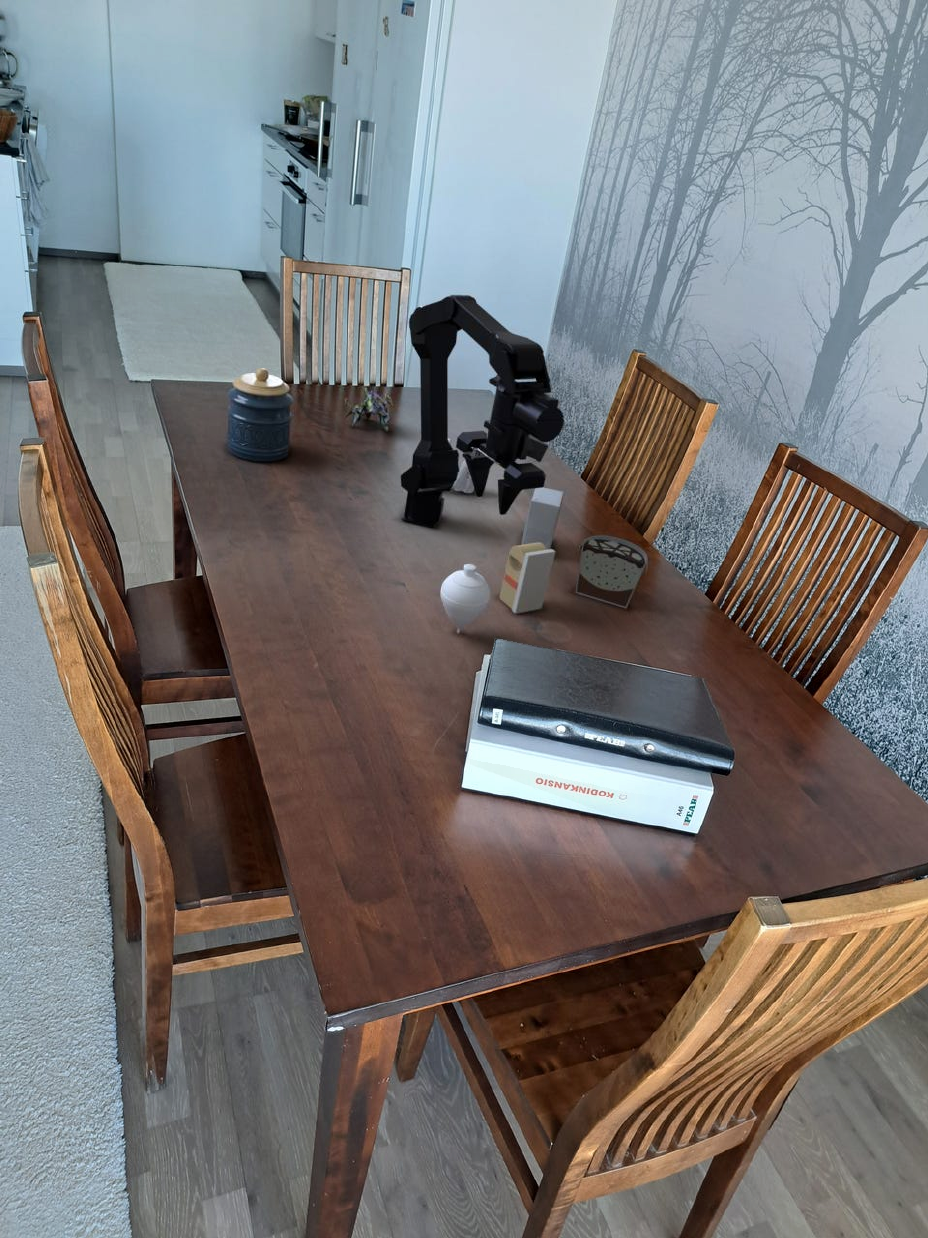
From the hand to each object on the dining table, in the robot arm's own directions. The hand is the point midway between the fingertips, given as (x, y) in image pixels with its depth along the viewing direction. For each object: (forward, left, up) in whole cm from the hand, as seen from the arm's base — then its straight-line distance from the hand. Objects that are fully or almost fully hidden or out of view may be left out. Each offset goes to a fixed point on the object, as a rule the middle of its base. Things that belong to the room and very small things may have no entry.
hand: (490, 505), depth 157 cm
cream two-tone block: (+9, -10, -12) cm, 18 cm away
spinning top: (+1, -24, -12) cm, 27 cm away
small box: (+9, +14, -12) cm, 21 cm away
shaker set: (-12, +31, -12) cm, 35 cm away
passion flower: (-37, +56, -12) cm, 68 cm away
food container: (+23, +1, -12) cm, 26 cm away
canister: (-53, +28, -12) cm, 61 cm away
